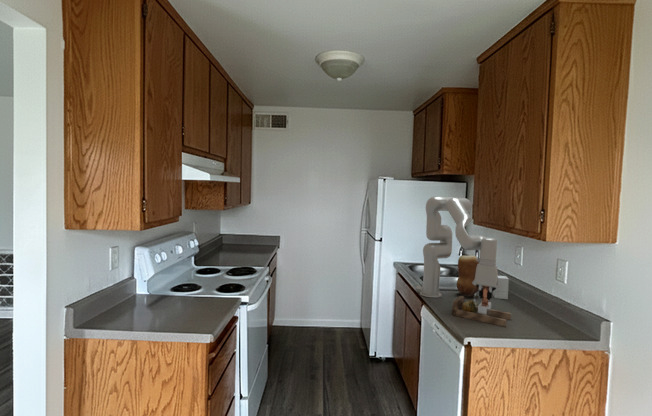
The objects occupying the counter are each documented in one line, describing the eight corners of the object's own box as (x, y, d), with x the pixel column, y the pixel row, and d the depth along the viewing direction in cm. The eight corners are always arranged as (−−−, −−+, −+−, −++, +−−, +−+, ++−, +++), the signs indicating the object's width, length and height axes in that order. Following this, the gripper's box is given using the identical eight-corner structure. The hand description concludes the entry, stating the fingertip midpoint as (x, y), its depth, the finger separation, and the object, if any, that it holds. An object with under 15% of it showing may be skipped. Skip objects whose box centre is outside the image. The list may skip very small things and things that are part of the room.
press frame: (452, 314, 191) (452, 301, 191) (459, 308, 203) (460, 295, 202) (505, 326, 177) (506, 312, 177) (510, 319, 188) (511, 305, 188)
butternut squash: (456, 292, 238) (458, 252, 236) (479, 295, 232) (481, 254, 231) (455, 297, 225) (457, 255, 224) (479, 300, 220) (481, 258, 218)
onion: (475, 312, 196) (476, 297, 196) (478, 317, 189) (479, 302, 188) (460, 311, 198) (460, 296, 198) (462, 316, 190) (463, 300, 190)
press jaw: (477, 317, 186) (479, 287, 185) (482, 312, 194) (484, 283, 194) (486, 319, 184) (487, 288, 183) (490, 314, 192) (492, 284, 192)
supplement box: (505, 296, 232) (506, 276, 231) (507, 299, 225) (509, 278, 224) (492, 295, 234) (493, 274, 233) (494, 298, 227) (495, 277, 226)
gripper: (468, 261, 189) (466, 297, 190) (503, 266, 180) (501, 303, 181) (472, 259, 196) (470, 294, 196) (506, 263, 186) (504, 300, 187)
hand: (485, 298), depth 189 cm, fingers closed on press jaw, 3 cm apart
